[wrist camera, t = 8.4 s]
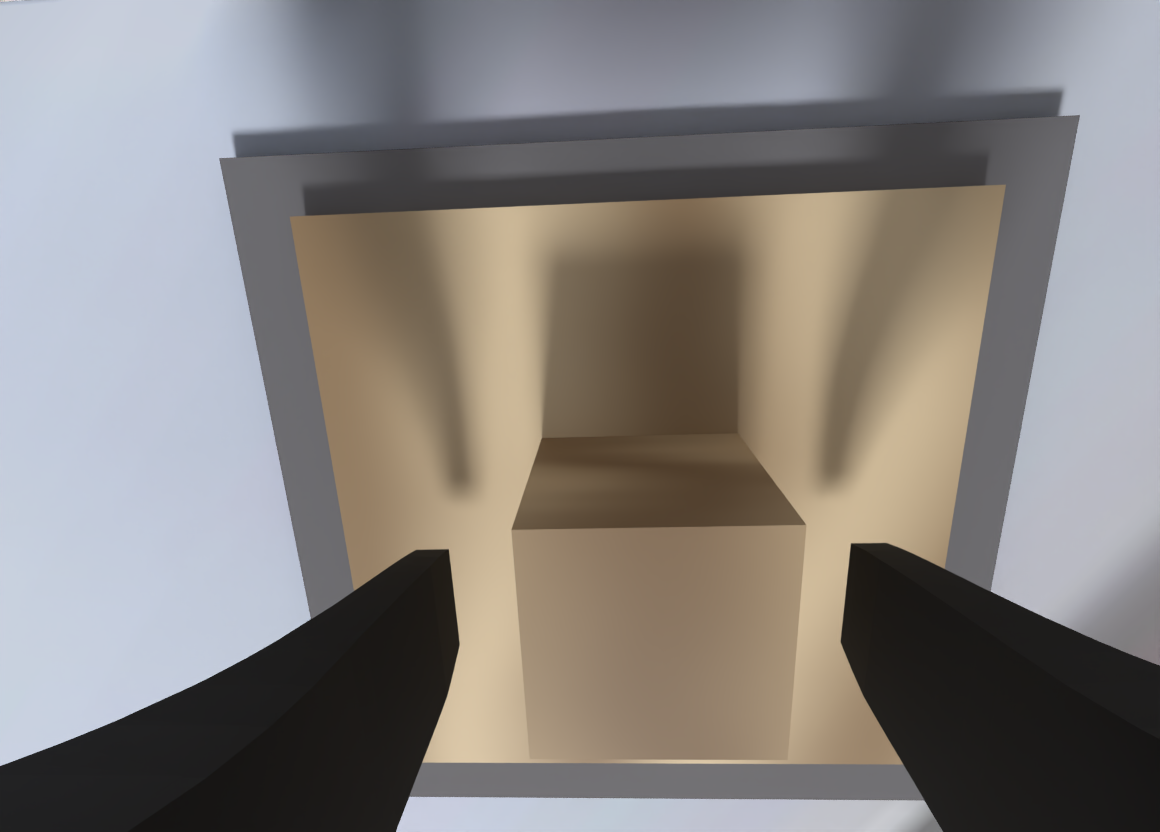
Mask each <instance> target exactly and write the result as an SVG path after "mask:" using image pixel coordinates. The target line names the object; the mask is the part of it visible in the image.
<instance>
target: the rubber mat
mask: <svg viewBox="0 0 1160 832" xmlns="http://www.w3.org/2000/svg"><path fill="white" fill-rule="evenodd" d="M1079 117H1080V115H1077V116H1057V117H1037V118H1017V119H997V120H977V121H957V122H937V123H917V124H897V125H877V126H857V127H837V128H817V129H797V130H777V131H757V132H737V133H717V134H697V135H677V136H657V137H637V138H617V139H597V140H577V141H557V142H537V143H517V144H497V145H477V146H457V147H437V148H417V149H397V150H377V151H357V152H337V153H317V154H297V155H277V156H257V157H237V158H219V159H220V164H221V169H222V174H223V179H224V184H225V189H226V194H227V199H228V204H229V209H230V214H231V219H232V224H233V230H234V235H235V240H236V245H237V250H238V255H239V260H240V265H241V270H242V275H243V280H244V285H245V290H246V295H247V300H248V305H249V310H250V315H251V320H252V325H253V330H254V335H255V340H256V345H257V350H258V355H259V360H260V365H261V370H262V375H263V380H264V385H265V390H266V395H267V400H268V405H269V410H270V415H271V420H272V425H273V430H274V435H275V440H276V445H277V450H278V455H279V460H280V465H281V470H282V475H283V480H284V485H285V490H286V495H287V500H288V505H289V511H290V516H291V521H292V526H293V531H294V536H295V541H296V546H297V551H298V556H299V561H300V566H301V571H302V576H303V581H304V586H305V591H306V596H307V601H308V606H309V611H310V616H311V619H312V618H314V617H316V616H317V615H319V614H320V613H322V612H323V611H325V610H327V609H328V608H330V607H331V606H333V605H334V604H336V603H337V602H339V601H340V600H342V599H343V598H345V597H346V596H347V595H349V594H350V593H352V592H353V591H354V588H353V582H352V576H351V570H350V564H349V558H348V553H347V547H346V541H345V535H344V529H343V524H342V518H341V512H340V506H339V500H338V495H337V489H336V483H335V477H334V471H333V465H332V460H331V454H330V448H329V442H328V436H327V431H326V425H325V419H324V413H323V407H322V402H321V396H320V390H319V384H318V378H317V373H316V367H315V361H314V355H313V349H312V343H311V338H310V332H309V326H308V320H307V314H306V309H305V303H304V297H303V291H302V285H301V280H300V274H299V268H298V262H297V256H296V251H295V245H294V239H293V233H292V227H291V221H290V217H293V216H315V215H338V214H360V213H382V212H405V211H427V210H449V209H472V208H494V207H516V206H539V205H561V204H583V203H606V202H628V201H650V200H673V199H695V198H717V197H740V196H762V195H784V194H807V193H829V192H851V191H874V190H896V189H918V188H941V187H963V186H985V185H1006V188H1005V194H1004V200H1003V206H1002V213H1001V219H1000V225H999V231H998V238H997V244H996V250H995V256H994V263H993V269H992V275H991V282H990V288H989V294H988V300H987V307H986V313H985V319H984V325H983V332H982V338H981V344H980V350H979V357H978V363H977V369H976V375H975V382H974V388H973V394H972V400H971V407H970V413H969V419H968V426H967V432H966V438H965V444H964V451H963V457H962V463H961V469H960V476H959V482H958V488H957V494H956V501H955V507H954V513H953V519H952V526H951V532H950V538H949V545H948V551H947V557H946V563H945V569H946V570H948V571H950V572H952V573H954V574H956V575H958V576H960V577H962V578H964V579H966V580H968V581H970V582H972V583H974V584H976V585H978V586H980V587H982V588H984V589H986V590H988V591H990V590H991V585H992V580H993V574H994V569H995V564H996V558H997V553H998V548H999V543H1000V537H1001V532H1002V527H1003V521H1004V516H1005V511H1006V505H1007V500H1008V495H1009V489H1010V484H1011V479H1012V473H1013V468H1014V463H1015V457H1016V452H1017V447H1018V441H1019V436H1020V431H1021V425H1022V420H1023V415H1024V409H1025V404H1026V399H1027V393H1028V388H1029V383H1030V378H1031V372H1032V367H1033V362H1034V356H1035V351H1036V346H1037V340H1038V335H1039V330H1040V324H1041V319H1042V314H1043V308H1044V303H1045V298H1046V292H1047V287H1048V282H1049V276H1050V271H1051V266H1052V260H1053V255H1054V250H1055V244H1056V239H1057V234H1058V228H1059V223H1060V218H1061V212H1062V207H1063V202H1064V197H1065V191H1066V186H1067V181H1068V175H1069V170H1070V165H1071V159H1072V154H1073V149H1074V143H1075V138H1076V133H1077V127H1078V122H1079ZM409 797H537V798H675V799H813V800H924V799H923V797H922V795H921V793H920V792H919V790H918V788H917V787H916V785H915V783H914V782H913V780H912V778H911V777H910V775H909V773H908V772H907V770H906V768H905V767H904V765H903V764H668V763H422V765H421V767H420V770H419V772H418V775H417V777H416V780H415V783H414V785H413V788H412V790H411V793H410V796H409Z"/></svg>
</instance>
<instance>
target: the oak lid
mask: <svg viewBox="0 0 1160 832" xmlns="http://www.w3.org/2000/svg"><path fill="white" fill-rule="evenodd" d="M1005 188H1006V185H985V186H963V187H941V188H918V189H896V190H874V191H851V192H829V193H807V194H784V195H762V196H740V197H717V198H695V199H673V200H650V201H628V202H606V203H583V204H561V205H539V206H516V207H494V208H472V209H449V210H427V211H405V212H382V213H360V214H338V215H315V216H293V217H290V221H291V227H292V233H293V239H294V245H295V251H296V256H297V262H298V268H299V274H300V280H301V285H302V291H303V297H304V303H305V309H306V314H307V320H308V326H309V332H310V338H311V343H312V349H313V355H314V361H315V367H316V373H317V378H318V384H319V390H320V396H321V402H322V407H323V413H324V419H325V425H326V431H327V436H328V442H329V448H330V454H331V460H332V465H333V471H334V477H335V483H336V489H337V495H338V500H339V506H340V512H341V518H342V524H343V529H344V535H345V541H346V547H347V553H348V558H349V564H350V570H351V576H352V582H353V588H354V591H355V590H356V589H358V588H359V587H361V586H362V585H363V584H365V583H366V582H368V581H369V580H371V579H372V578H374V577H375V576H376V575H378V574H379V573H381V572H382V571H384V570H385V569H387V568H388V567H389V566H391V565H392V564H394V563H395V562H397V561H398V560H400V559H401V558H403V557H405V556H406V555H408V554H409V553H411V552H413V551H415V550H429V549H449V554H450V563H451V572H452V580H453V589H454V598H455V606H456V615H457V624H458V632H459V641H460V646H459V650H458V655H457V659H456V663H455V668H454V672H453V676H452V680H451V684H450V688H449V692H448V695H447V699H446V701H445V704H444V707H443V710H442V712H441V715H440V717H439V720H438V723H437V725H436V728H435V731H434V733H433V736H432V739H431V741H430V744H429V746H428V749H427V752H426V754H425V757H424V759H423V762H422V763H668V764H903V763H902V761H901V760H900V758H899V756H898V755H897V753H896V751H895V750H894V748H893V746H892V745H891V743H890V741H889V740H888V738H887V736H886V734H885V733H884V731H883V729H882V728H881V726H880V724H879V722H878V721H877V719H876V717H875V716H874V714H873V712H872V710H871V709H870V707H869V705H868V703H867V702H866V700H865V698H864V696H863V694H862V692H861V690H860V687H859V685H858V683H857V681H856V678H855V676H854V674H853V672H852V669H851V667H850V664H849V662H848V659H847V657H846V655H845V652H844V650H843V647H842V645H841V642H840V641H841V632H842V623H843V613H844V604H845V594H846V585H847V575H848V566H849V557H850V547H851V543H888V544H891V545H894V546H896V547H899V548H901V549H904V550H906V551H908V552H910V553H913V554H915V555H917V556H919V557H921V558H923V559H925V560H928V561H930V562H932V563H934V564H936V565H938V566H940V567H942V568H944V569H945V563H946V557H947V551H948V545H949V538H950V532H951V526H952V519H953V513H954V507H955V501H956V494H957V488H958V482H959V476H960V469H961V463H962V457H963V451H964V444H965V438H966V432H967V426H968V419H969V413H970V407H971V400H972V394H973V388H974V382H975V375H976V369H977V363H978V357H979V350H980V344H981V338H982V332H983V325H984V319H985V313H986V307H987V300H988V294H989V288H990V282H991V275H992V269H993V263H994V256H995V250H996V244H997V238H998V231H999V225H1000V219H1001V213H1002V206H1003V200H1004V194H1005Z"/></svg>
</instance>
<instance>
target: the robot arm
mask: <svg viewBox="0 0 1160 832" xmlns="http://www.w3.org/2000/svg"><path fill="white" fill-rule="evenodd" d="M840 642H841V645H842V647H843V650H844V652H845V655H846V657H847V659H848V662H849V664H850V667H851V669H852V672H853V674H854V676H855V678H856V681H857V683H858V685H859V687H860V690H861V692H862V694H863V696H864V698H865V700H866V702H867V703H868V705H869V707H870V709H871V710H872V712H873V714H874V716H875V717H876V719H877V721H878V722H879V724H880V726H881V728H882V729H883V731H884V733H885V734H886V736H887V738H888V740H889V741H890V743H891V745H892V746H893V748H894V750H895V751H896V753H897V755H898V756H899V758H900V760H901V761H902V763H903V765H904V767H905V768H906V770H907V772H908V773H909V775H910V777H911V778H912V780H913V782H914V783H915V785H916V787H917V788H918V790H919V792H920V793H921V795H922V797H923V799H924V800H925V802H926V804H927V805H928V807H929V809H930V810H931V812H932V814H933V815H934V817H935V819H936V820H937V822H938V824H939V825H940V827H941V829H942V830H943V832H1160V666H1159V665H1156V664H1154V663H1151V662H1149V661H1146V660H1143V659H1141V658H1138V657H1136V656H1133V655H1130V654H1128V653H1125V652H1123V651H1121V650H1118V649H1116V648H1113V647H1111V646H1108V645H1106V644H1104V643H1101V642H1099V641H1097V640H1094V639H1092V638H1090V637H1087V636H1085V635H1083V634H1081V633H1078V632H1076V631H1074V630H1072V629H1069V628H1067V627H1065V626H1063V625H1061V624H1058V623H1056V622H1054V621H1052V620H1049V619H1047V618H1045V617H1043V616H1041V615H1038V614H1036V613H1034V612H1032V611H1030V610H1028V609H1026V608H1023V607H1021V606H1019V605H1017V604H1015V603H1013V602H1011V601H1009V600H1007V599H1005V598H1003V597H1001V596H999V595H996V594H994V593H992V592H990V591H988V590H986V589H984V588H982V587H980V586H978V585H976V584H974V583H972V582H970V581H968V580H966V579H964V578H962V577H960V576H958V575H956V574H954V573H952V572H950V571H948V570H946V569H944V568H942V567H940V566H938V565H936V564H934V563H932V562H930V561H928V560H925V559H923V558H921V557H919V556H917V555H915V554H913V553H910V552H908V551H906V550H904V549H901V548H899V547H896V546H894V545H891V544H888V543H851V547H850V557H849V566H848V575H847V585H846V594H845V604H844V613H843V623H842V632H841V641H840ZM459 646H460V641H459V632H458V624H457V615H456V606H455V598H454V589H453V580H452V572H451V563H450V554H449V549H429V550H415V551H413V552H411V553H409V554H408V555H406V556H405V557H403V558H401V559H400V560H398V561H397V562H395V563H394V564H392V565H391V566H389V567H388V568H387V569H385V570H384V571H382V572H381V573H379V574H378V575H376V576H375V577H374V578H372V579H371V580H369V581H368V582H366V583H365V584H363V585H362V586H361V587H359V588H358V589H356V590H355V591H353V592H352V593H350V594H349V595H347V596H346V597H345V598H343V599H342V600H340V601H339V602H337V603H336V604H334V605H333V606H331V607H330V608H328V609H327V610H325V611H323V612H322V613H320V614H319V615H317V616H316V617H314V618H312V619H311V620H309V621H308V622H306V623H304V624H303V625H301V626H300V627H298V628H297V629H295V630H293V631H292V632H290V633H289V634H287V635H285V636H284V637H282V638H281V639H279V640H277V641H276V642H274V643H272V644H271V645H269V646H267V647H265V648H264V649H262V650H260V651H258V652H257V653H255V654H253V655H251V656H249V657H248V658H246V659H244V660H242V661H240V662H238V663H236V664H235V665H233V666H231V667H229V668H227V669H225V670H223V671H221V672H219V673H217V674H216V675H214V676H212V677H210V678H208V679H206V680H204V681H202V682H200V683H198V684H196V685H194V686H192V687H189V688H187V689H185V690H183V691H181V692H178V693H176V694H174V695H172V696H170V697H168V698H165V699H163V700H161V701H159V702H157V703H154V704H152V705H150V706H148V707H146V708H144V709H141V710H139V711H137V712H135V713H133V714H130V715H128V716H126V717H124V718H122V719H119V720H117V721H115V722H112V723H110V724H108V725H105V726H103V727H100V728H98V729H95V730H93V731H90V732H88V733H86V734H83V735H81V736H78V737H76V738H73V739H71V740H68V741H66V742H63V743H61V744H58V745H55V746H53V747H50V748H47V749H45V750H42V751H40V752H37V753H34V754H32V755H29V756H26V757H24V758H21V759H18V760H16V761H13V762H10V763H8V764H5V765H2V766H0V832H396V830H397V827H398V824H399V821H400V819H401V816H402V814H403V811H404V808H405V806H406V803H407V801H408V798H409V796H410V793H411V790H412V788H413V785H414V783H415V780H416V777H417V775H418V772H419V770H420V767H421V765H422V762H423V759H424V757H425V754H426V752H427V749H428V746H429V744H430V741H431V739H432V736H433V733H434V731H435V728H436V725H437V723H438V720H439V717H440V715H441V712H442V710H443V707H444V704H445V701H446V699H447V695H448V692H449V688H450V684H451V680H452V676H453V672H454V668H455V663H456V659H457V655H458V650H459Z"/></svg>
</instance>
